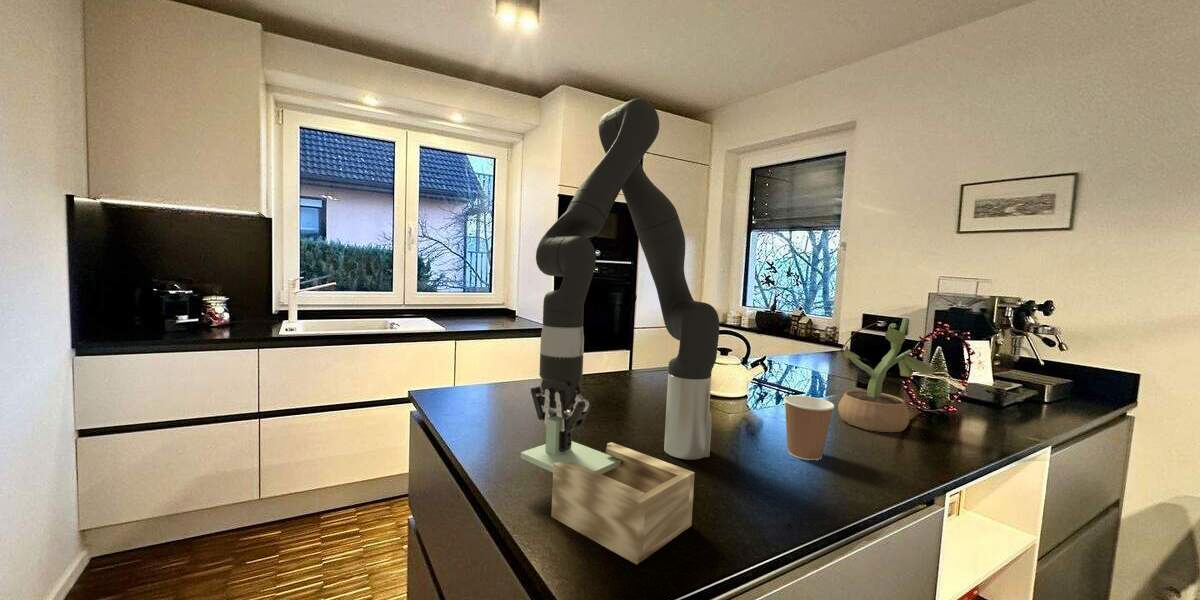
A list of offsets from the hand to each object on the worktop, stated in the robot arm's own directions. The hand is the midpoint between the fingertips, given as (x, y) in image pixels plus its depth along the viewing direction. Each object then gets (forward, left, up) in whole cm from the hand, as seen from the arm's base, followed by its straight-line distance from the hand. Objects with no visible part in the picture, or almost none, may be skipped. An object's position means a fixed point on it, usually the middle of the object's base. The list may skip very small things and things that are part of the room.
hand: (558, 447), depth 84 cm
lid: (-2, +2, -2) cm, 3 cm away
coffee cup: (-55, -19, -8) cm, 58 cm away
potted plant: (-85, -38, -8) cm, 93 cm away
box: (-11, +10, -8) cm, 17 cm away
